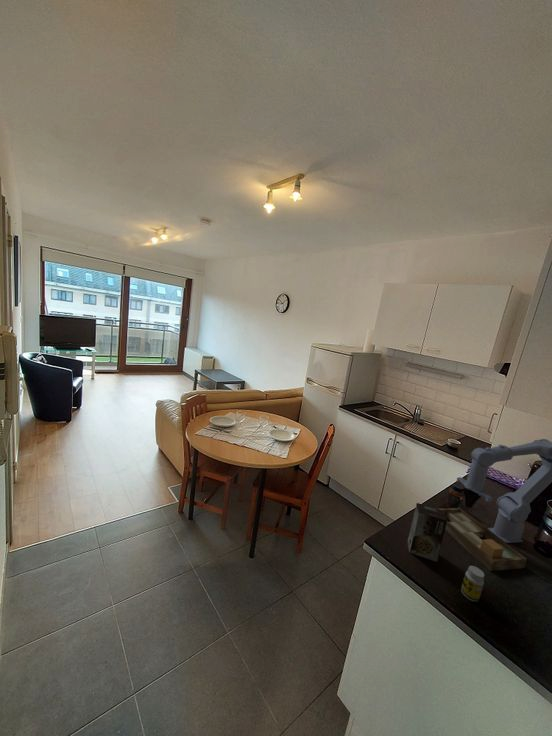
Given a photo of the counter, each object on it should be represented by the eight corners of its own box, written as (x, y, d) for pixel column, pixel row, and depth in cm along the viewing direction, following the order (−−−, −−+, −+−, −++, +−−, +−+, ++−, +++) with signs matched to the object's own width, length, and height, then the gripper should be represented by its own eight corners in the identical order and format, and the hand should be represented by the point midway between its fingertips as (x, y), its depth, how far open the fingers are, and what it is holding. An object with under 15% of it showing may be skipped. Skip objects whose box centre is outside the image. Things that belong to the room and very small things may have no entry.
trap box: (458, 515, 129) (460, 508, 129) (524, 567, 102) (527, 558, 102) (429, 516, 125) (431, 508, 125) (490, 571, 98) (493, 561, 98)
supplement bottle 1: (462, 513, 131) (468, 491, 129) (448, 510, 132) (454, 488, 130) (456, 506, 137) (462, 484, 135) (443, 502, 138) (449, 481, 136)
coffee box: (433, 550, 104) (444, 510, 102) (437, 562, 98) (448, 521, 96) (406, 540, 107) (416, 501, 105) (408, 552, 101) (419, 511, 99)
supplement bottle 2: (456, 587, 89) (463, 563, 88) (470, 588, 90) (477, 564, 89) (468, 602, 85) (475, 577, 83) (482, 602, 85) (490, 578, 84)
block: (489, 548, 106) (491, 539, 105) (501, 558, 102) (504, 548, 101) (479, 549, 105) (482, 539, 104) (491, 559, 101) (494, 549, 100)
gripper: (454, 467, 124) (446, 496, 126) (485, 487, 110) (476, 518, 112) (467, 468, 126) (459, 496, 128) (499, 487, 112) (490, 518, 114)
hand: (468, 506), depth 120 cm, fingers closed
